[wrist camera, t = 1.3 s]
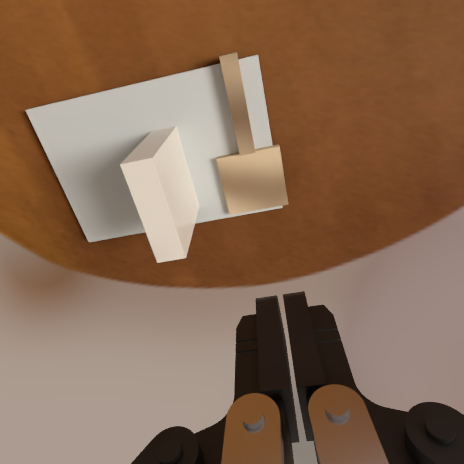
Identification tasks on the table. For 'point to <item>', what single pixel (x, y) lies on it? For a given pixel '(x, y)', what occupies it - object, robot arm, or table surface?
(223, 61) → the turner
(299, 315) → the robot arm
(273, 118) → the table surface
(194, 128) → the mat
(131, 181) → the tile
